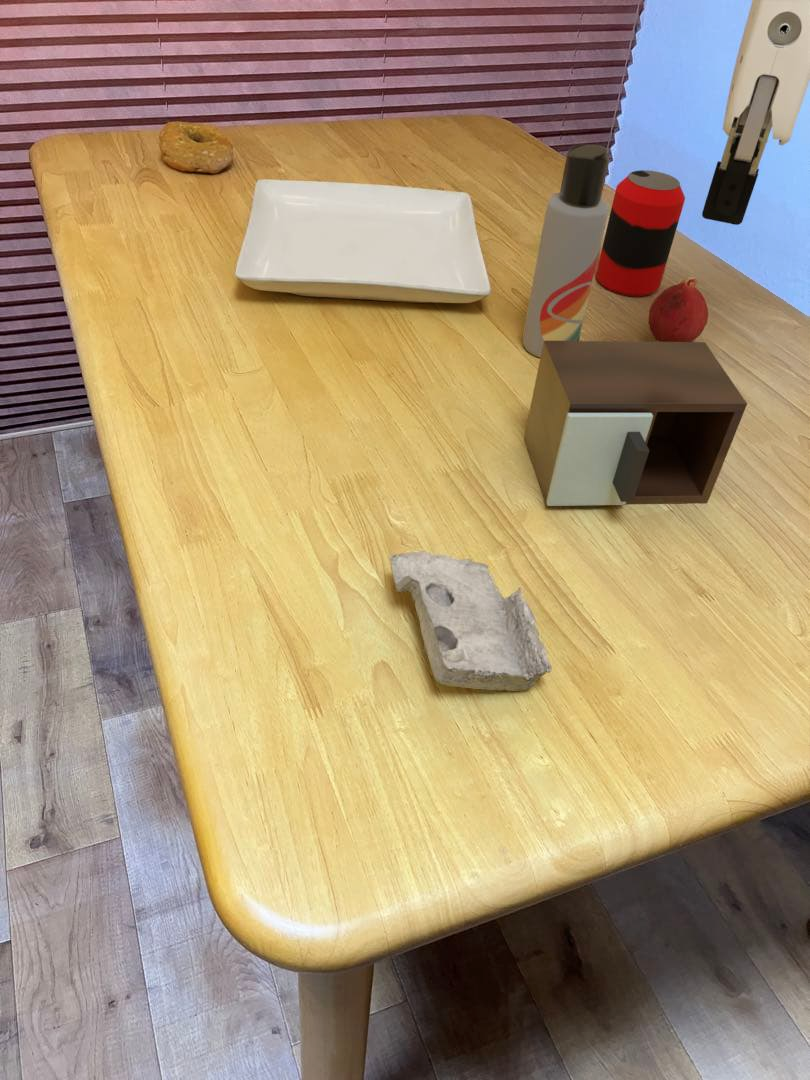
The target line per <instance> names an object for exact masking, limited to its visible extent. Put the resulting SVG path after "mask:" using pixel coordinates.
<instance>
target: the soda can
mask: <svg viewBox="0 0 810 1080" xmlns="http://www.w3.org/2000/svg"><path fill="white" fill-rule="evenodd" d="M614 191H615V192H614V196H613V199H612V204H611V207H610V213H609V217H608V220H607V221H608V222H607V224H606V225H607V226H606V228H605V229H606V230H605V234H604V237H603V243H602V247H601V250H600V255H599V258H598V259H599V260H598V262H597V263H598V264H597V268H596V272H595V277H596V280H597V281H598V283H599V284H600V285H601V286H602V287H603V288H605V289H606V290H607V291H610V292H612V293H615V294H618V295H621V296H626V297H646V296H649V295H651V294H653V293H655V292H656V291H658V290H659V289H660V287H661V284H662V281H663V277H664V274H665V270H666V266H667V263H668V260H669V256H670V253H671V249H672V246H673V243H674V240H675V239H674V238H675V236H676V232H677V229H678V224H679V222H680V219H681V215H682V211H683V208H684V205H685V201H686V197H685V194H684V191H683V189H682V186H681V182H680V181H679V180H678V179H677V178H676V177H674V176H672V175H670V174H668V173H664V172H660V171H657V170H656V171H655V170H649V169H648V170H647V169H646V170H645V169H641V170H634V171H631V172H629V173H628V175H626V177H625V178H623V179H622V180H621V181H620V182H619V183H618V184H617V185H616V187H615V190H614Z"/></svg>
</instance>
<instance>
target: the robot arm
mask: <svg viewBox="0 0 810 1080" xmlns="http://www.w3.org/2000/svg"><path fill="white" fill-rule="evenodd" d="M742 33H743V34H742V37H741V41H740V44H739V47H738V51H737V56H736V59H735V63H734V68H733V73H732V77H731V81H730V86H729V91H728V95H727V101H726V107H725V113H724V118H723V124H722V131H723V132H724V133H725V135H727V136H728V137H727V140H726V143H725V147H724V150H723V152H722V157H721V161H719V160H717V163H716V166H715V169H714V172H713V175H712V178H711V183H710V186H709V189H708V192H707V195H706V199H705V201H704V205H703V209H702V211H701V212H702V213H701V216H702V218H703V219H705V220H711V221H714V222H720V223H724V224H725V223H726V224H731V225H735V226H739V225H740V224H742V223H743V221H744V218H745V216H746V212H747V209H748V206H749V203H750V200H751V197H752V194H753V191H754V189H755V185H756V183H757V179H758V176H759V171H760V168H759V165H760V162H761V160H762V157H763V155H764V151H765V148H766V145H767V143H768V140H769V137H770V133H771V130H772V139H773V140H778V145H779V146H784V145H786V144H788V143H789V142H790V141H791V138H792V135H793V131H794V128H795V125H796V123H797V119H798V116H799V113H800V109H801V107H802V104H803V101H804V98H805V96H806V92H807V90H808V86H809V83H810V0H752V1H751V4H750V7H749V12H748V16H747V19H746V22H745V27H744V28H743V32H742Z"/></svg>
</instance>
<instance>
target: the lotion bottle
mask: <svg viewBox="0 0 810 1080" xmlns="http://www.w3.org/2000/svg"><path fill="white" fill-rule="evenodd" d="M610 161H611V159H610V156H609V154H608V149H607V148H606V147H605V146H602V145H598V144H586V143H582V144H576V145H573V146H572V147H570V148H569V149H568V150H567V153H566V157H565V163H564V169H563V173H562V174H563V175H562V179H561V184H560V185H561V186H560V191H559V192H557V193H554V194H552V195H551V196H550V197H549V198H548V200H547V204H546V209H545V214H544V219H543V225H542V230H541V235H540V241H539V246H538V250H537V251H538V252H537V258H536V263H535V269H534V273H533V280H532V284H531V290H530V295H529V300H528V306H527V312H526V317H525V323H524V329H523V335H522V346H523V347H524V349H525V350H526V351H527V352H528V353H529V354H531V355H533V356H534V357H537V358H539V359H540V357H541V352H542V347H543V342H544V341H580V337H581V332H582V327H583V324H584V319H585V315H586V312H587V311H586V310H587V307H588V303H589V302H588V301H589V298H590V294H591V290H592V285H593V281H594V277H595V273H596V272H595V271H596V269H597V268H596V267H597V265H598V264H597V263H598V259H599V256H600V255H599V254H600V252H601V245H602V240H603V239H604V235H605V234H604V233H605V229H606V225H607V221H608V220H607V219H608V215H609V205H608V203H607V202H605V200H604V199H602V194H603V190H604V185H605V180H606V178H607V173H608V169H609V165H610Z"/></svg>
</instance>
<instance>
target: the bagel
mask: <svg viewBox="0 0 810 1080" xmlns="http://www.w3.org/2000/svg"><path fill="white" fill-rule="evenodd" d="M158 140H159V142H158V143H159V145H158V146H159V150H160V152H161V156H162V160H163V161H164V162H165V163H166V164H167V165H168V166H169V167H171V168H172V169H176V170H178V171H182V172H189V173H192V172H194V173H195V172H196V173H209V174H218V173H219V172H221V171H223V170H224V169H227V167H229V166H231V165H232V161H233V156H234V155H233V154H234V148H235V147H234V144H233V143H232V142H231V140H230V139H229V138H227V136H225V135H224V134H223V132H222V131H221V130H220V129H219V128H218V127H217V126H214V125H212V124H206V123H203V122H189V121H178V120H177V121H170V122H166V123H165V124H164V126H163V128H162V129H161V130H160V132H159V134H158Z"/></svg>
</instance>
